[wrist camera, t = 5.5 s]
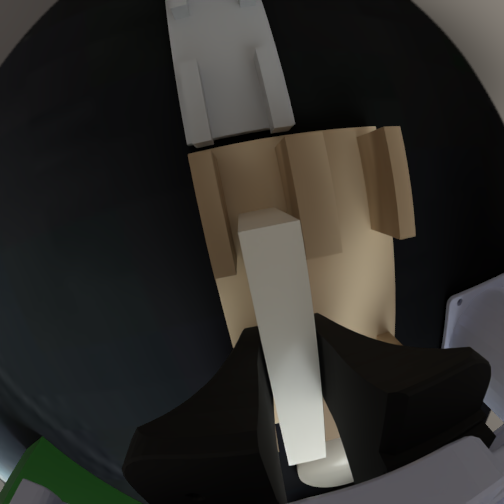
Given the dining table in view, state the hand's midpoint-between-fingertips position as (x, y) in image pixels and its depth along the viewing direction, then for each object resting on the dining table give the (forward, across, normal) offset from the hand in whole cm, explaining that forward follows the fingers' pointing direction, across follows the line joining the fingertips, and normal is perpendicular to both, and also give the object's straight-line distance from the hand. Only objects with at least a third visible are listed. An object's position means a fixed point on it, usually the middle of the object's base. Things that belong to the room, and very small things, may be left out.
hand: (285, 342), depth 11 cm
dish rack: (+4, -2, 0) cm, 5 cm away
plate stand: (+4, 0, -14) cm, 15 cm away
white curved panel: (+3, 0, 0) cm, 3 cm away
